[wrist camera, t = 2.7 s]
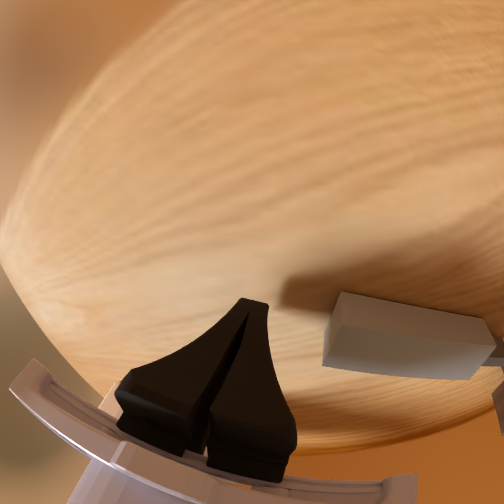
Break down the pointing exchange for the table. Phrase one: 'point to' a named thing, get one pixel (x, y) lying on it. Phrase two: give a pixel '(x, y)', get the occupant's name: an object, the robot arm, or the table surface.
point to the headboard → (499, 404)
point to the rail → (407, 340)
